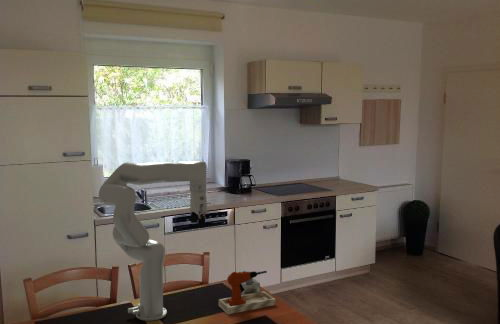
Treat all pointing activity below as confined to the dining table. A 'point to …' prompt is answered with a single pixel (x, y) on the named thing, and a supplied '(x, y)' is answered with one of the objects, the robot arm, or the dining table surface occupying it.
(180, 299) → the dining table surface
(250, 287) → the socket block
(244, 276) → the toy drill
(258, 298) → the marbled rectangular tray
